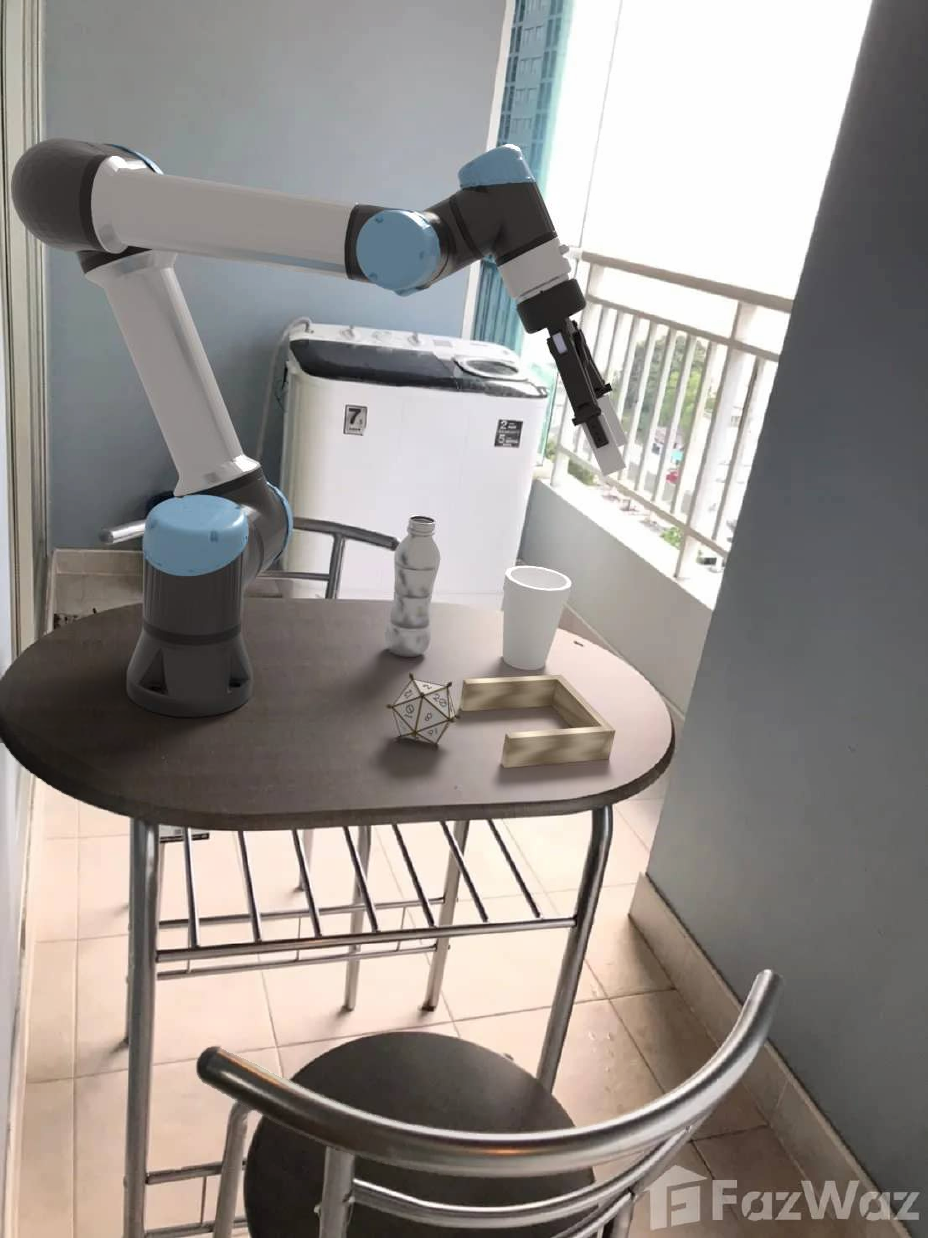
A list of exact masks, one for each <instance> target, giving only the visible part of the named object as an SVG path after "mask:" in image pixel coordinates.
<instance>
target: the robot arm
mask: <svg viewBox="0 0 928 1238" xmlns="http://www.w3.org/2000/svg"><path fill="white" fill-rule="evenodd" d="M12 171H13V172H12V174H11V182H10V194H11V200H12V203H13V208H14V210H15V212H16V214H17V216H18V219H19V220H20V222H21V223H22V224H23V225H24V227H25V229H26V230H27V231H28V232H30V233H31V235H33V237H34V238H36V239H37V240H39V241H40V242H42V243H43V244H44V245H46V246H49V247H51V248H52V249H56V250H59V251H64V252H73V253H75V255H76V257H77V260H78V262H79V264H80V267H81V269H82V272H83V274H84V277H85V279H86V280H88V281H90V282H92V283H94V284H96V285H98V286H100V287H101V288H102V289H103V290H104V291H105V295H106V297H107V300H108V303H109V305H110V307H111V309H112V312H113V315H114V317H115V319H116V321H117V325H118V327H119V329H120V332H121V333H122V334H121V335H122V337H123V339H124V342H125V344H126V346H127V349H128V352H129V353H130V356H131V359H132V362H133V364H134V366H135V368H136V371H137V374H138V376H139V378H140V381H141V383H142V385H143V388H144V390H145V391H144V392H145V394H146V396H147V398H148V401H149V403H150V406H151V408H152V411H153V413H154V416H155V418H156V421H157V423H158V425H159V428H160V431H161V432H162V435H163V438H164V441H165V443H166V445H167V446H166V447H167V448H168V451H169V453H170V456H171V459H172V461H173V463H174V466H175V468H176V471H177V473H178V477H179V479H178V481H177V483H176V486H175V487H174V490H173V495H174V497H171V498H169V499H166V500H163V501H161V502H160V503H158V504H157V505H156V506H155V505H154V507H153V508H152V509H151V510H150V511H149V512H148V515H147V516H146V519H145V522H144V531H143V536H142V539H141V540H142V541H141V542H142V545H141V547H142V552H143V554H142V555H143V556H142V559H143V561H142V564H143V565H142V567H143V568H142V569H143V571H142V572H143V573H142V575H143V576H142V580H143V581H142V631H141V634H140V636H139V639H138V641H137V644H136V646H135V649H134V651H133V654H132V657H131V659H130V662H129V664H128V668H127V671H126V692H127V695H128V697H129V698H130V700H132V701H133V702H134V703H135V704H137V705H138V706H139V707H142V708H143V709H146V710H149V711H150V712H153V713H158V714H160V715H164V716H172V717H180V718H200V717H210V716H215V715H220V714H224V713H228V712H231V711H233V710H236V709H237V708H239V707H240V706H242V705H244V704H245V703H246V702H247V701H248V700H249V699H250V698H251V696H252V693H253V683H254V682H253V681H254V674H253V668H252V666H251V662H250V659H249V655H248V652H247V649H246V648H247V647H246V645H245V641H244V638H243V634H242V625H243V624H242V623H243V622H242V621H243V610H244V596H245V593H244V592H245V589H246V587H248V585H250V584H251V583H252V582H253V581H254V580H255V579H256V578H257V577H258V576H260V575H261V574H262V573H263V572H264V571H266V570H267V569H269V568H271V567H272V566H273V565H274V564H275V563H276V562H277V561H278V560H279V559H280V558H281V556H282V555H283V553H284V551H285V550H286V548H287V547H288V545H289V543H290V541H291V537H292V534H293V529H294V528H293V527H294V520H293V513H292V509H291V506H290V503H289V502H288V500H287V499H286V497H285V495H284V494H283V493H282V492H281V490H280V489H278V487H276V486H273V485H272V484H271V483H270V482H268V481H267V479H266V477H265V473H264V471H263V468H262V465H261V464H260V462H259V461H257V460H255V459H252V458H250V457H249V456H247V455H246V454H245V453H244V451H243V449H242V448H243V447H242V446H241V443H240V440H239V437H238V436H237V432H236V431H235V428H234V424H233V423H232V420H231V417H230V415H229V412H228V409H227V406H226V404H225V402H224V398H223V396H222V393H221V391H220V388H219V386H218V383H217V381H216V378H215V376H214V375H215V374H214V373H213V370H212V367H211V364H210V362H209V359H208V357H207V354H206V352H205V349H204V346H203V344H202V341H201V339H200V335H199V333H198V330H197V328H196V325H195V323H194V320H193V318H192V317H193V316H192V315H191V312H190V310H189V306H188V305H187V301H186V299H185V297H184V294H183V290H182V289H181V285H180V283H179V281H178V278H177V275H176V273H175V270H174V264H175V261H176V259H177V257H178V255H179V254H180V255H181V254H182V255H189V256H196V257H201V258H208V259H213V260H219V261H220V260H221V261H227V262H232V263H233V262H234V263H240V264H248V265H252V266H260V267H266V268H272V269H279V270H286V271H293V272H298V273H305V274H310V275H319V276H323V277H324V276H325V277H329V278H330V277H331V278H337V279H344V280H351V281H356V282H359V283H366V284H372V285H376V286H378V287H380V288H382V289H384V290H387V291H393V292H394V293H395V295H397V296H399V297H402V298H406V297H409V296H411V295H415V294H416V293H418V292H421V291H424V290H427V289H430V288H431V286H432V285H434V284H436V283H438V282H440V281H442V280H444V279H446V278H448V277H449V276H450V277H451V275H453V274H456V273H457V272H459V271H461V270H463V269H465V268H466V267H468V266H470V265H472V264H473V263H476V262H478V261H480V260H483V259H484V258H486V257H487V256H489V255H491V256H492V257H493V259H494V261H495V264H496V267H497V270H498V273H499V275H500V277H501V279H502V282H503V283H504V286H505V289H506V291H507V293H508V295H509V296H508V297H510V299H511V300H513V301H515V300H517V304H516V308H515V310H516V312H517V315H518V317H519V319H520V321H521V324H522V326H523V328H524V331H525V333H527V334H529V335H532V334H535V333H539V332H541V331H542V330H544V329H547V332H548V335H549V337H548V338H546V345H547V348H548V350H549V353H550V355H551V357H552V358H553V360H554V362H555V363H554V364H555V365H556V368H557V371H558V374H559V375H560V379H561V381H562V384H563V387H564V390H565V392H566V395H567V398H568V400H569V404H570V405H571V408H572V412H573V418H571V419H570V420H571V422H572V425H573V427H577V426H579V425H580V426H581V428H582V431H583V432H584V434H585V437H586V440H587V442H588V443H589V446H590V449H591V451H592V453H593V456H594V458H595V460H596V462H597V464H598V467H599V469H600V471H601V473H602V476H603V477H607V476H609V475H612V474H614V473H616V472H619V471H620V470H623V469H626V468H627V464H626V462H625V459H624V458H623V455H622V452H621V450H620V447H623V446H625V445H627V444H629V440H628V437H627V435H626V433H625V430H624V428H623V426H622V423H621V421H620V418H619V416H618V414H617V411H616V409H615V406H614V404H613V402H612V400H611V397H610V395H609V393H610V392H612V391H613V387H612V385H611V382H608V383H606V381H605V379H603V377H602V375H601V373H600V371H599V369H598V366H597V364H596V362H595V360H594V358H593V356H592V353H591V349H590V347H589V346H588V343H587V339H586V336H585V333H584V331H583V329H582V328H579V324H578V321H576V320H575V319H572V320H571V318H570V317H572V316H573V315H575V314H577V313H580V312H581V311H582V310H584V309H585V308H586V306H587V301H586V298H585V296H584V294H583V291H582V289H581V286H580V284H579V282H578V279H577V278H575V277H574V276H572V277H569V273H570V272H572V266H571V264H570V262H569V259H568V257H567V256H565V254H567V253H569V252H570V246H569V245H568V244H567V243H564V244H562V245H561V240H560V239H559V235H558V233H557V232H558V231H556V228H555V225H554V223H553V220H552V218H551V216H550V212H549V211H548V208H547V206H546V203H545V200H544V199H543V196H542V193H541V190H540V189H539V185H538V183H537V180H536V178H535V177H534V176H533V173H532V170H531V169H530V167H529V165H528V163H527V161H526V158H525V155H524V154H523V152H522V150H521V149H520V147H518V146H516V145H514V144H510V143H507V144H503V145H499V146H496V147H494V148H492V149H490V150H488V151H486V152H484V153H482V154H480V155H479V156H477V157H475V158H473V160H471V161H468V162H466V164H464V165H463V166H462V167H461V168H460V169H459V170H458V173H457V178H458V181H459V187H460V189H458V190H457V191H456V192H455V193H454V194H452V195H450V196H449V197H447V198H445V199H443V200H441V201H439V202H437V203H435V204H433V205H432V206H429V207H427V208H425V209H424V210H422V211H418V210H410V209H403V208H396V207H395V208H394V207H385V206H380V205H379V206H378V205H372V204H362V203H358V202H351V201H347V200H345V201H344V200H339V199H333V198H331V199H330V198H326V197H319V196H312V195H304V194H298V193H291V192H285V191H279V190H273V189H272V190H271V189H265V188H259V187H252V186H245V185H239V184H231V183H227V182H218V181H212V180H206V179H204V180H203V179H199V178H192V177H187V176H186V177H185V176H179V175H173V174H172V175H171V174H167V173H164V172H163V171H162V170H161V169H160V168H159V166H157V164H155V163H154V161H152V160H151V159H150V158H148V157H147V156H145V155H143V154H142V153H140V152H138V151H135V150H133V149H131V148H129V147H127V146H124V145H120V144H114V143H97V142H96V143H95V142H88V141H82V140H77V139H72V138H71V139H70V138H61V137H60V138H58V137H57V138H50V139H45V140H42V141H40V142H37V143H35V144H33V145H32V146H30V147H29V148H28V149H26V150H25V151H24V153H22V155H21V156H20V157H19V158H18V160H17V162H16V164H15V165H14V169H13V170H12Z"/></svg>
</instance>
